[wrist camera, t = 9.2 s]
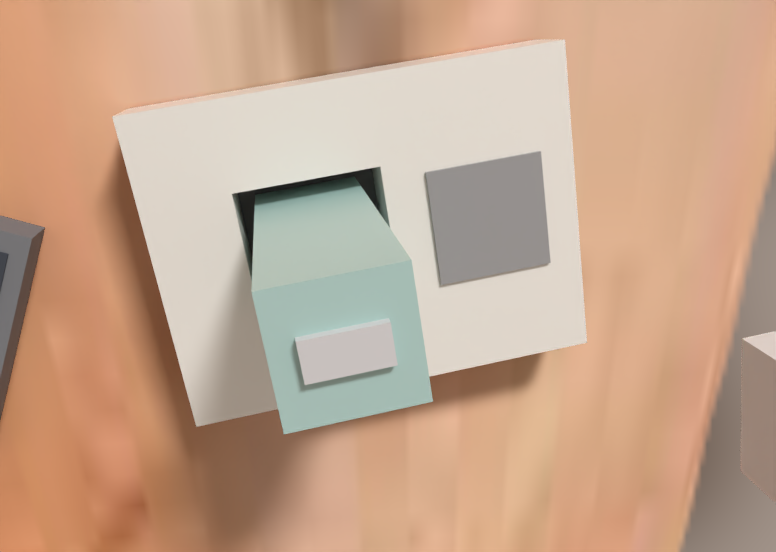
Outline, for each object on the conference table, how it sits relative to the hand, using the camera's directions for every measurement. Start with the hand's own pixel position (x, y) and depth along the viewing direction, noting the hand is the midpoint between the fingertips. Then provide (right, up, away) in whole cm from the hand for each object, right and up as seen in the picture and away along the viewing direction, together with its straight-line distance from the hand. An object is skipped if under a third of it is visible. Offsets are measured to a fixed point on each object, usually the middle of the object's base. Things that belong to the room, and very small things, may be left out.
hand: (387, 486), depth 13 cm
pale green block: (-3, +5, +18) cm, 19 cm away
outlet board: (-1, +6, +18) cm, 19 cm away
